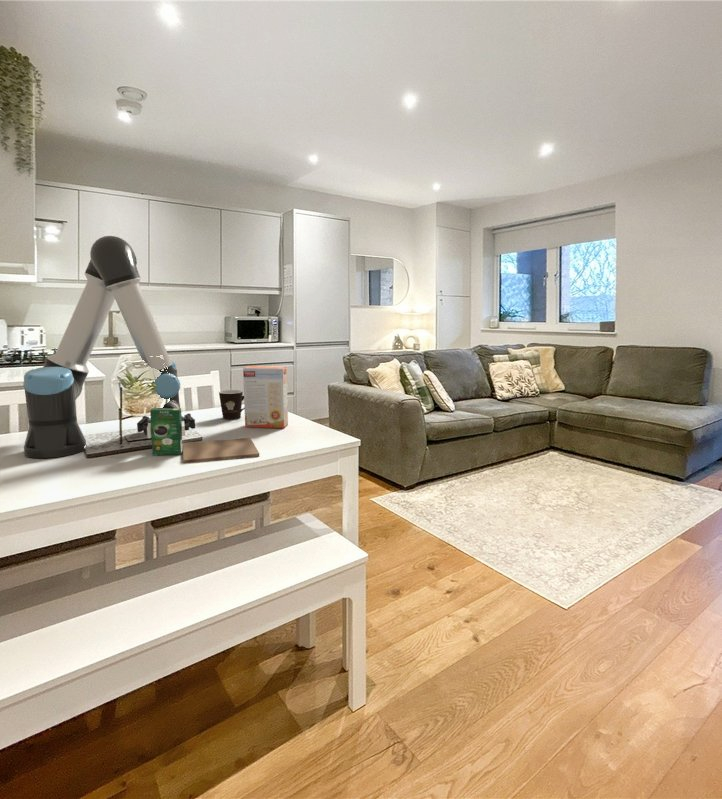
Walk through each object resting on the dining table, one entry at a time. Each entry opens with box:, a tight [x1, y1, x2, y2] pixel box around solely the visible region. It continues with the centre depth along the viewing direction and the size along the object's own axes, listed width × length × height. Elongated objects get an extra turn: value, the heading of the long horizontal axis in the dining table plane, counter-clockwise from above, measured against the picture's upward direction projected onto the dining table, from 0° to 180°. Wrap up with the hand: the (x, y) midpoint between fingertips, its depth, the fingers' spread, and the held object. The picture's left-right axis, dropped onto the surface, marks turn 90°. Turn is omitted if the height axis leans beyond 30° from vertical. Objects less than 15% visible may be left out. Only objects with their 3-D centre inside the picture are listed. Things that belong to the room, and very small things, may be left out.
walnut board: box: [182, 437, 260, 464], centre depth 144 cm, size 20×18×1 cm
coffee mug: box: [218, 389, 245, 421], centre depth 185 cm, size 12×9×10 cm
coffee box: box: [149, 407, 183, 456], centre depth 139 cm, size 8×3×13 cm, turn 98°
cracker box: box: [242, 365, 289, 429], centre depth 172 cm, size 14×6×21 cm, turn 84°
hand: (166, 432), depth 134 cm, fingers closed on coffee box, 8 cm apart
